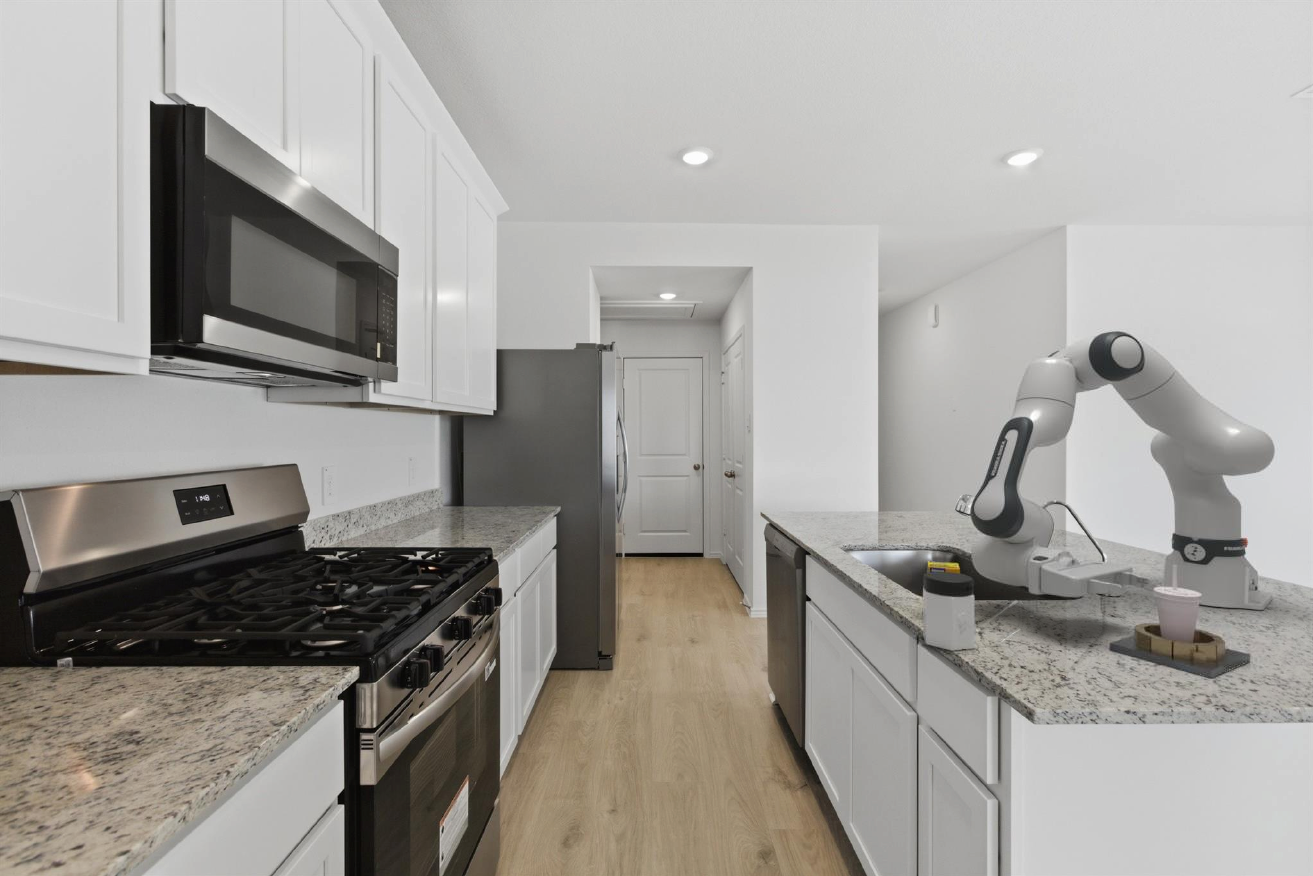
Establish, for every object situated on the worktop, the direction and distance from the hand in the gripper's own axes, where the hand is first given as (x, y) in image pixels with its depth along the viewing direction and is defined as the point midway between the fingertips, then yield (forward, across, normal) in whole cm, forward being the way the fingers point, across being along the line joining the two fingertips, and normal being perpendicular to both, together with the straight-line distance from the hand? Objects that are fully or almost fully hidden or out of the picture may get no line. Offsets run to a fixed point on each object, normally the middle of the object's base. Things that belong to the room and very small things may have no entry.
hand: (1136, 587), depth 109 cm
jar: (-17, +27, -11) cm, 34 cm away
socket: (+6, 0, -10) cm, 12 cm away
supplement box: (-27, +15, -11) cm, 33 cm away
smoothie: (+6, 0, -9) cm, 11 cm away
